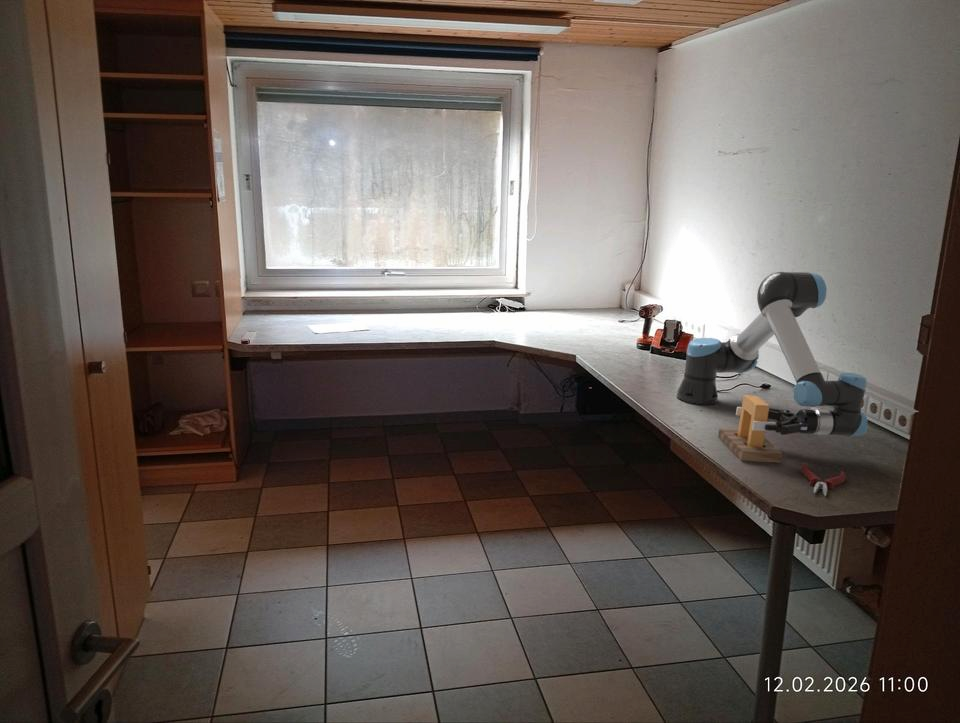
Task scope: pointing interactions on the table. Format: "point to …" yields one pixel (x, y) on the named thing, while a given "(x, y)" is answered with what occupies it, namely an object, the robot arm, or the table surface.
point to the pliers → (826, 483)
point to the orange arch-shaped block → (752, 419)
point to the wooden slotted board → (749, 453)
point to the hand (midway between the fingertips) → (744, 418)
